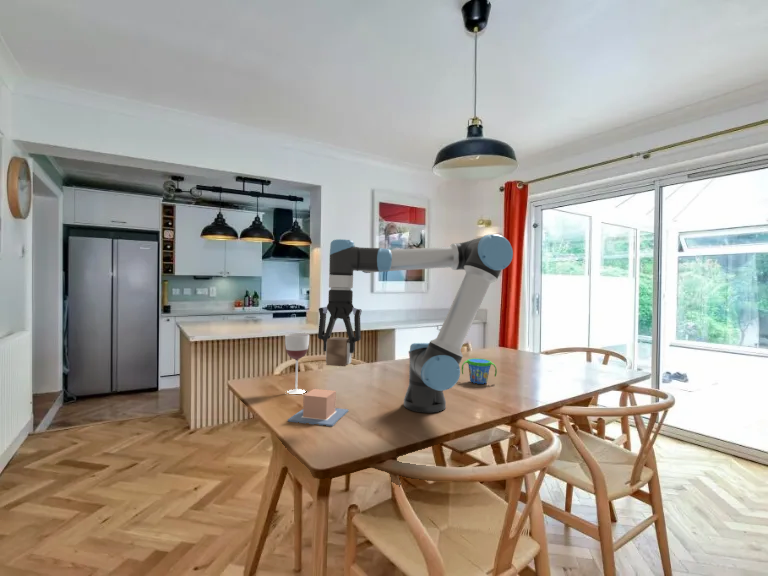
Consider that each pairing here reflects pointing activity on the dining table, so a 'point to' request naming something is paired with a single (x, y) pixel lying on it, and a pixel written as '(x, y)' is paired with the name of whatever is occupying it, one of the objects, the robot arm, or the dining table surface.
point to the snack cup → (479, 370)
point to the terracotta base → (319, 404)
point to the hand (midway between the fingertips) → (338, 362)
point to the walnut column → (337, 351)
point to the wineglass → (296, 353)
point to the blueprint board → (328, 422)
